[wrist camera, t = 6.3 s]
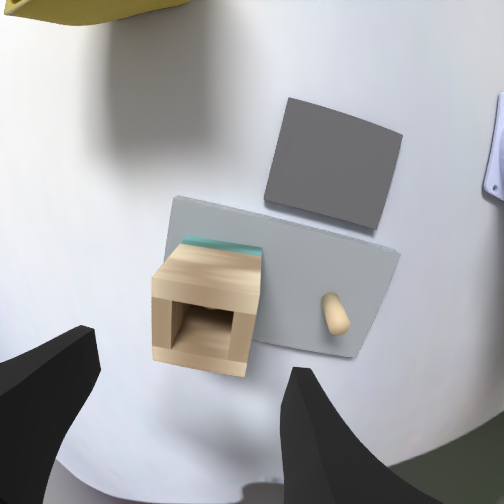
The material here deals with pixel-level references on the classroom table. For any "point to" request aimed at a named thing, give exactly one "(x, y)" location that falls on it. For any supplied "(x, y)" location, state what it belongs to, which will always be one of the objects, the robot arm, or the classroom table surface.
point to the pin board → (298, 275)
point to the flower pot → (83, 10)
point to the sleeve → (206, 305)
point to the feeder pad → (332, 164)
